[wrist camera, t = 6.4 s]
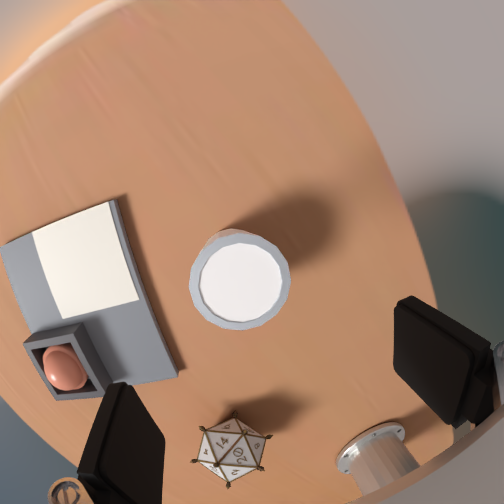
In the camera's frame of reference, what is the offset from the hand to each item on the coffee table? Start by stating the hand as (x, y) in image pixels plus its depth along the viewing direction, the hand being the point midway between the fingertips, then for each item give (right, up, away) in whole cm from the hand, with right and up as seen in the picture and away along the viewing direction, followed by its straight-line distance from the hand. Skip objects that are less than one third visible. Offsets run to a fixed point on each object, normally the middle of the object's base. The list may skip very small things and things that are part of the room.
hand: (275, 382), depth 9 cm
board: (-18, -2, +16) cm, 24 cm away
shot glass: (-3, +4, +17) cm, 18 cm away
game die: (-4, -17, +21) cm, 28 cm away
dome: (-20, -7, +15) cm, 26 cm away
